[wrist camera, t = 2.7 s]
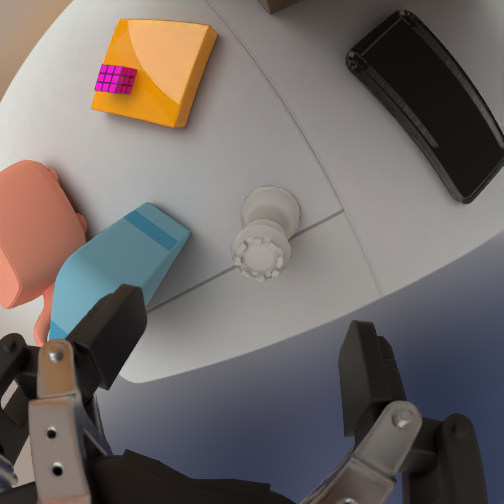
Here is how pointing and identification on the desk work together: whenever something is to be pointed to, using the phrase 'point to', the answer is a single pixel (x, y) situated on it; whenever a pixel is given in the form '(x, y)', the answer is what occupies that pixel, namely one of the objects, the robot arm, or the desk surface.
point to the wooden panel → (276, 4)
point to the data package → (116, 264)
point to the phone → (431, 102)
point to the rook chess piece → (266, 233)
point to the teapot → (35, 237)
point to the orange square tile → (153, 70)
